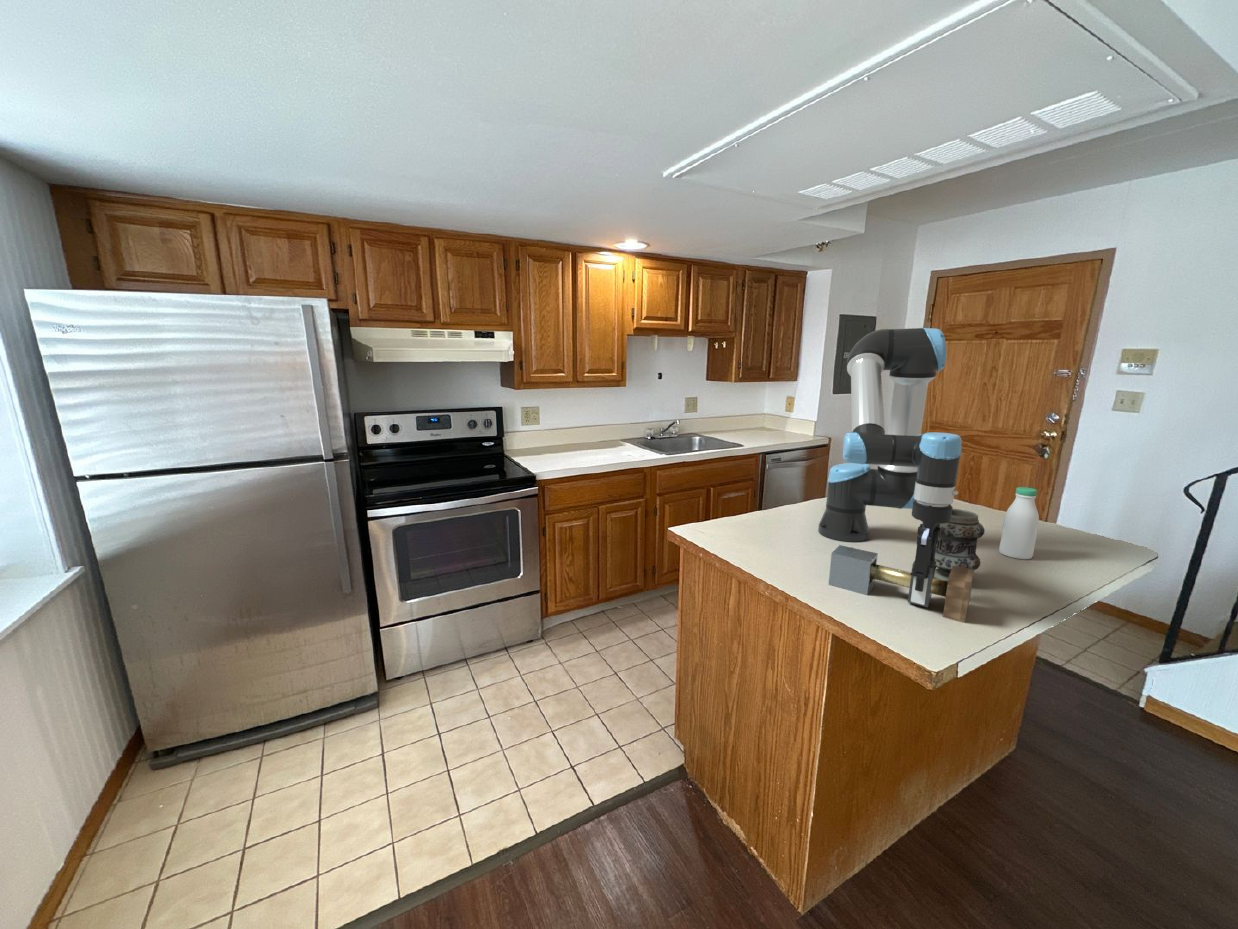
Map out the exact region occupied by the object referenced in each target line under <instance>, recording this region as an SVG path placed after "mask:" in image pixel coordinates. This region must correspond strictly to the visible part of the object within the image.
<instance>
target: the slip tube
mask: <svg viewBox="0 0 1238 929" xmlns="http://www.w3.org/2000/svg"><path fill="white" fill-rule="evenodd" d="M914 564H915V560H914V561H913V563H912V566H911V572H912V573H913V572H914ZM935 569H937V567H936V561H931V560H930V564H929V570H928V584H927V591H926V599H925V604H924V605H922V604H918V603H915V602H911V595H912V587H913V579H914V576H912V575H910V573H911V572H910V571H907V570H901V569H898V568H893V567H889V566H885V565H881V564H873V563H872V564H871V573H870V578H872V579H875V580H877V581H881V582H885V583H888V584H893V585H896V586H901V587H905V588H908V590H909V591H908V598H907V603H909V604H913V605H916V606H921V607H924V608H929V605H930V604H931V601H932V597H933V595H935V596H940V597H944V598H946V592H947V585H948V581H945V580H941V579H937V578H934V576H935Z"/></svg>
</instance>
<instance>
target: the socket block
mask: <svg viewBox="0 0 1238 929" xmlns="http://www.w3.org/2000/svg"><path fill="white" fill-rule="evenodd" d="M974 574H975V570H974V569H969V568H964V567H960V566H955V565H953V567H952V569H951V572H950V575H949V578H948V585H947V592H946V597H944V598H945V599H944V607H943V612H942V617H943V618H946V619H951V620H954V621H958V622H960V623H966V621H967V620H966V618H967V615H968V611H969V607H970V606H969V605H970V600H971V593H972V588H973V581H974Z"/></svg>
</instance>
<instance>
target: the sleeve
mask: <svg viewBox="0 0 1238 929" xmlns="http://www.w3.org/2000/svg"><path fill="white" fill-rule="evenodd" d="M878 554H879V553H878V552H877V553H876V552H873V551H867V550H863V549H859V548H855V547H851V546H846V545H842V544H839V545H838V546H837V547H836V548H835V549H834V550H833V551H832V552H831V555H830V566H829V577H828V578H829V579H828V585H829V586H832V587H836V588H840V589H843V590H847V589H848V590H847V591H850V590H851V592H854V593H859V594H863V595H866V596H867V595H869V594H870V592H871V590H872V589H873V588H874V586H875V582H876V581H875V580H876V579H872V578H870V573H871V564H872V563H873V564H877V563H878V556H879V555H878ZM877 565H878V564H877Z"/></svg>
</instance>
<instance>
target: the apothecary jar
mask: <svg viewBox="0 0 1238 929" xmlns="http://www.w3.org/2000/svg"><path fill="white" fill-rule="evenodd" d="M940 527H941V530H940V534H939V536H938V542H937V544H936V551H935V561H936V565H937V566H936V569H935V576H934V578H937V579H941V580H945V581H948V578H949V575H950V572H951V569H952V567H953V565H955V566H960V567H964V568H969V569H974V571H975V570H977V569H979V567H980V566H981V559H980V557H979V555H978V554H977V545H978V544H977V543H978V539H979V538H982V537H983V536H984V535H985V531H986V530H985V528H984V525H983V524H982V523H981V522H980V520H979V515H978V514H977V513H975V512H973V511H970V510H967V509H962V508H954V507H953V509H952V516H951V521H950V522H948V523H943V524H940Z"/></svg>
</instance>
